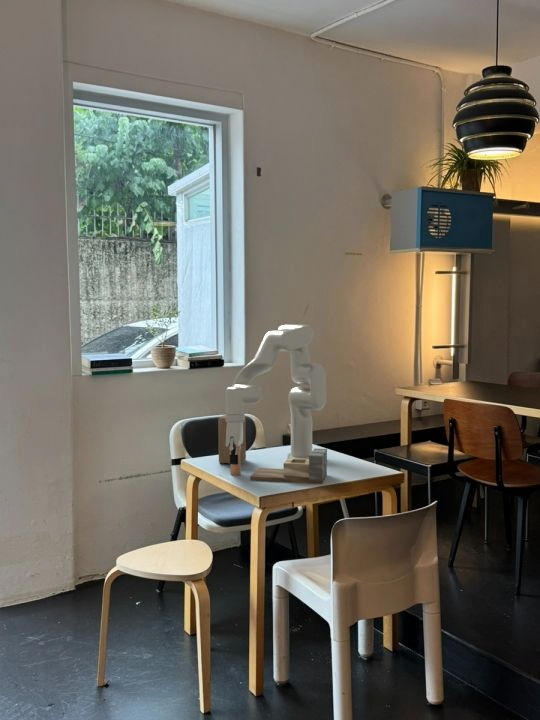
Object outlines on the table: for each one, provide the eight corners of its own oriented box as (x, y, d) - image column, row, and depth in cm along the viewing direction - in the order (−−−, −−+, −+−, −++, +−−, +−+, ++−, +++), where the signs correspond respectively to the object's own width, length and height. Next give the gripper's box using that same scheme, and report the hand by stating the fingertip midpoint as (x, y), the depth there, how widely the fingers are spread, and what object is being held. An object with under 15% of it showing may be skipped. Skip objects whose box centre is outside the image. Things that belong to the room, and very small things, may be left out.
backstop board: (258, 471, 281) (258, 446, 281) (326, 474, 276) (326, 448, 275) (250, 480, 268) (250, 453, 267) (322, 483, 262) (322, 456, 261)
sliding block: (288, 470, 277) (288, 457, 276) (313, 471, 275) (313, 458, 274) (283, 476, 267) (283, 463, 267) (309, 477, 265) (309, 464, 264)
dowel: (232, 472, 280) (231, 441, 279) (241, 473, 279) (241, 441, 278) (229, 475, 276) (229, 443, 275) (239, 475, 275) (238, 443, 274)
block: (240, 465, 293) (240, 418, 292) (218, 464, 295) (217, 417, 294) (246, 459, 303) (246, 414, 301) (224, 458, 305) (223, 414, 303)
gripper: (231, 414, 284) (231, 458, 286) (220, 420, 268) (220, 467, 269) (249, 414, 283) (249, 458, 284) (239, 421, 266) (239, 468, 268)
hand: (235, 462), depth 277 cm, fingers closed on dowel, 4 cm apart
